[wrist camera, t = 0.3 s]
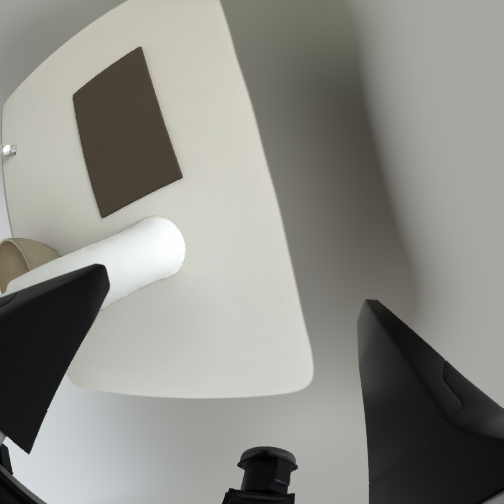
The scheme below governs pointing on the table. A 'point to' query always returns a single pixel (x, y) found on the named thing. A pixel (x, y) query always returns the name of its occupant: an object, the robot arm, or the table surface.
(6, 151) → the wrapped candy
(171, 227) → the cosmetic bottle
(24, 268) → the bowl
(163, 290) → the table surface
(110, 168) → the mat
